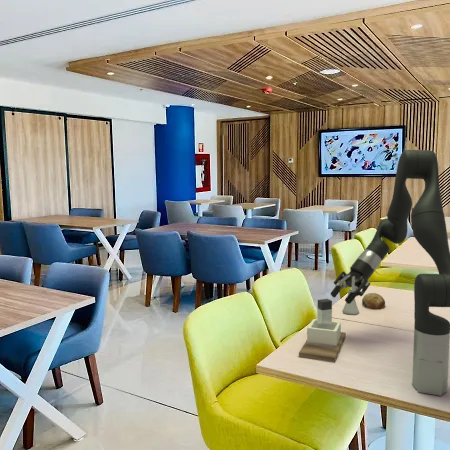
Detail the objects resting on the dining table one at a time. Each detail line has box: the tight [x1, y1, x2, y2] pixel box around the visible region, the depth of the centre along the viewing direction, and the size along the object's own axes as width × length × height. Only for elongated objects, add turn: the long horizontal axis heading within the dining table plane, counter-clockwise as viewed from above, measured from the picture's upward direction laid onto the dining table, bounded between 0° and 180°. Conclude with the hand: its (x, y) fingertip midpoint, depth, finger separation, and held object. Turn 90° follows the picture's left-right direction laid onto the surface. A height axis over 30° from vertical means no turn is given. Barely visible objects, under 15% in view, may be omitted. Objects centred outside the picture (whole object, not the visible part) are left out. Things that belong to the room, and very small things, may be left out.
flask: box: [342, 288, 360, 316], centre depth 195 cm, size 7×7×10 cm
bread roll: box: [361, 292, 386, 311], centre depth 204 cm, size 10×10×8 cm
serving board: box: [298, 331, 347, 363], centre depth 160 cm, size 24×12×2 cm, turn 157°
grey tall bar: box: [316, 298, 333, 330], centre depth 160 cm, size 3×4×14 cm
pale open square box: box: [306, 318, 342, 348], centre depth 161 cm, size 10×10×6 cm
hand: (339, 299), depth 161 cm, fingers open, 8 cm apart
